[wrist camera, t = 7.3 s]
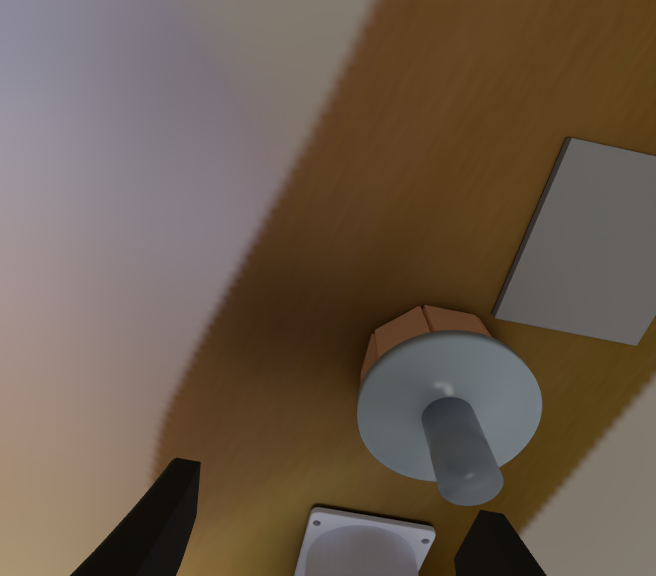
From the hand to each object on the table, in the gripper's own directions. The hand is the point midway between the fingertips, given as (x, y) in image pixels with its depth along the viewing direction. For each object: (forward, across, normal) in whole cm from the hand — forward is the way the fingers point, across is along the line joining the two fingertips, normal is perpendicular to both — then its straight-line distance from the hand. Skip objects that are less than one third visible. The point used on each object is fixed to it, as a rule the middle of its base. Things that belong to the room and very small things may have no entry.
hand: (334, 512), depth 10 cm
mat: (+10, -10, -6) cm, 16 cm away
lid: (+7, -5, +1) cm, 9 cm away
